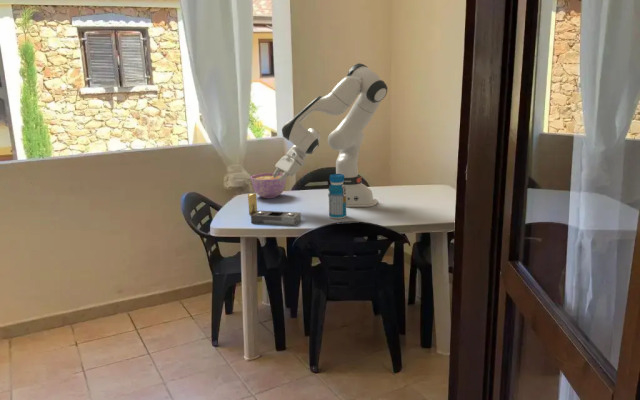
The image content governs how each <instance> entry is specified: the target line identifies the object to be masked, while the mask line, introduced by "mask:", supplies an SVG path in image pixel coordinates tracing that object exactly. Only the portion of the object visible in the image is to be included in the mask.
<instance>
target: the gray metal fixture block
mask: <svg viewBox="0 0 640 400" xmlns="http://www.w3.org/2000/svg"><path fill="white" fill-rule="evenodd" d="M301 214H302V213H301V212H293V211H275V210H257V212H256V213H254V214H253V215H250V223H251V224H261V223H262V224H263V225H264V224H265V225H278V226H280V225H283V226H295V225H297V224H298V223H299V222H300V221H301V220H302V217H301Z"/></svg>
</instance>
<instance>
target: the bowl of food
mask: <svg viewBox="0 0 640 400" xmlns="http://www.w3.org/2000/svg"><path fill="white" fill-rule="evenodd" d="M283 173H284V172H280V173H278V176H277V177H276V178H275V177H273V174H274V172H263V173H257V174H253V175H251V176H250V180H251V183H252V187H253V191H254V193H256V195H257V196H259V197H262V198H263V199H274V198H277V197H278V196H280V195H281V194H283V192H284V191H285V187H286V183H287V178H288V176H287V177H286V178H285V179H283V181H280V180H279V177H280V176H282V175H283Z"/></svg>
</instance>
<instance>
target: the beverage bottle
mask: <svg viewBox="0 0 640 400" xmlns="http://www.w3.org/2000/svg"><path fill="white" fill-rule="evenodd" d="M343 182H344V175H343V174H336V173H332V174H330V175H329V183H330V184H329V187H328V194H327V195H328V215H329V218H330V219H335V220H337V219H345V218H346V217H347V207H346V192H345V191H346V187H345V185H344V184H343Z"/></svg>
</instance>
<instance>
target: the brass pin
mask: <svg viewBox="0 0 640 400" xmlns="http://www.w3.org/2000/svg"><path fill="white" fill-rule="evenodd" d="M247 200H248V201H247V203H248V215H249V216H251V215H253V214H254V213H256V212H257V211H258V201H257V193H256V192H253V193H248V194H247Z"/></svg>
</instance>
